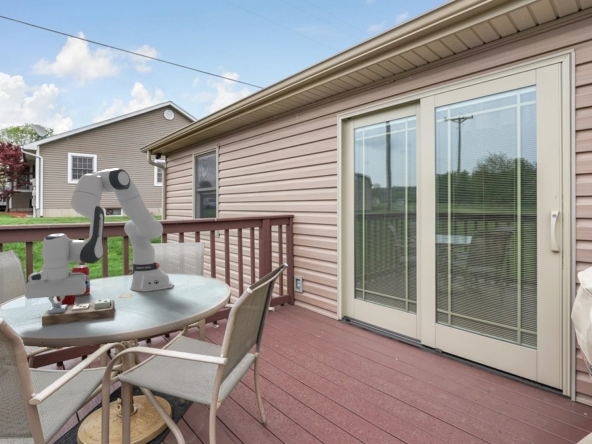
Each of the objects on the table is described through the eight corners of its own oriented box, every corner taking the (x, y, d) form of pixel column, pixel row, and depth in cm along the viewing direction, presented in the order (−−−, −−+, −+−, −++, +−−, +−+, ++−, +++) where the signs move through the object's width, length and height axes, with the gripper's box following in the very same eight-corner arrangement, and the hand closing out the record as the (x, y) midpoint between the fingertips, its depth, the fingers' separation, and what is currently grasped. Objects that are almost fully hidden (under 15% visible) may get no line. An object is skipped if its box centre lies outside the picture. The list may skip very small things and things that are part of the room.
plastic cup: (59, 311, 145) (58, 284, 144) (47, 307, 151) (47, 281, 150) (85, 305, 154) (84, 280, 154) (74, 301, 160) (73, 277, 159)
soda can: (68, 295, 170) (68, 266, 169) (84, 291, 177) (83, 264, 176) (77, 297, 167) (76, 268, 166) (93, 293, 174) (92, 265, 173)
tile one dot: (67, 311, 140) (67, 304, 140) (64, 315, 135) (64, 307, 135) (51, 313, 138) (51, 305, 137) (48, 317, 133) (48, 309, 132)
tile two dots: (110, 305, 147) (110, 298, 147) (109, 308, 142) (109, 301, 142) (96, 306, 144) (96, 299, 144) (94, 310, 140) (94, 303, 139)
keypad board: (114, 307, 151) (114, 300, 151) (112, 317, 139) (112, 309, 139) (50, 314, 141) (50, 306, 141) (42, 326, 128) (41, 317, 128)
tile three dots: (89, 310, 143) (89, 303, 143) (87, 314, 139) (87, 306, 138) (74, 312, 141) (74, 304, 141) (72, 316, 136) (72, 308, 136)
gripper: (87, 270, 143) (87, 301, 143) (28, 273, 134) (28, 307, 135) (85, 273, 137) (85, 305, 138) (23, 277, 128) (23, 312, 129)
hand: (57, 306), depth 136 cm, fingers closed
